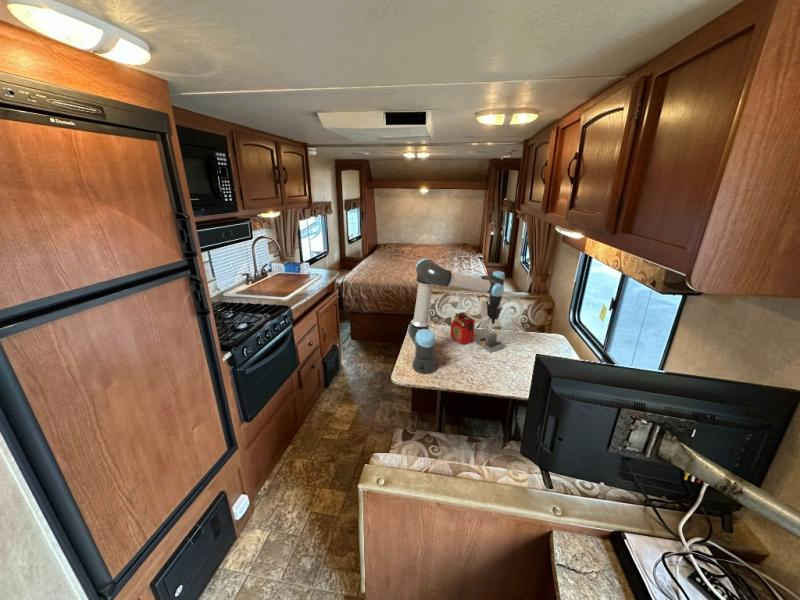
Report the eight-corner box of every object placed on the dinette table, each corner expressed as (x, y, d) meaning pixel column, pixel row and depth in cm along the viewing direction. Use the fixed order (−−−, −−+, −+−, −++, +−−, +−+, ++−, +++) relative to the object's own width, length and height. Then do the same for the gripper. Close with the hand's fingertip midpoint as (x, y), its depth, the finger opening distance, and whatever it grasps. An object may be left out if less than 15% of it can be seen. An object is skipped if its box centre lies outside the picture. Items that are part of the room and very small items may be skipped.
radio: (449, 336, 226) (450, 312, 219) (460, 333, 231) (462, 309, 223) (462, 346, 213) (465, 320, 206) (474, 343, 218) (476, 317, 210)
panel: (487, 346, 211) (488, 336, 208) (484, 345, 213) (485, 335, 210) (495, 344, 215) (496, 333, 212) (493, 342, 217) (494, 332, 214)
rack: (490, 352, 206) (491, 347, 204) (475, 343, 218) (476, 338, 216) (503, 348, 211) (504, 343, 209) (488, 339, 223) (489, 334, 222)
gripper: (507, 297, 196) (502, 329, 205) (493, 290, 207) (488, 322, 216) (499, 298, 193) (493, 332, 202) (484, 292, 204) (480, 324, 212)
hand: (491, 327), depth 209 cm, fingers closed
